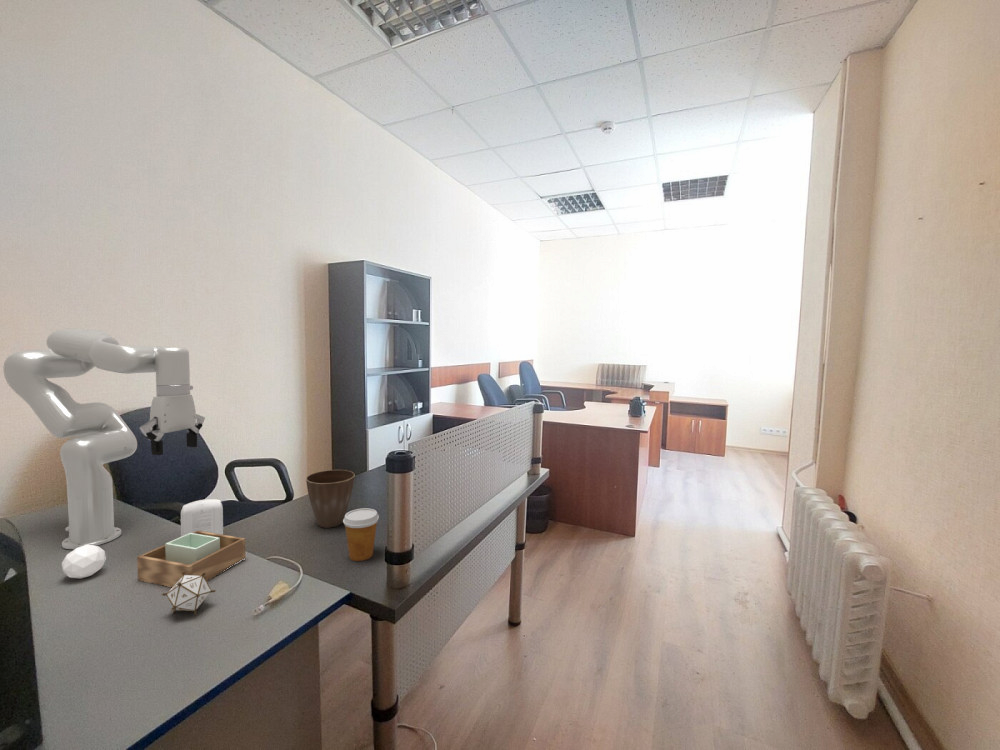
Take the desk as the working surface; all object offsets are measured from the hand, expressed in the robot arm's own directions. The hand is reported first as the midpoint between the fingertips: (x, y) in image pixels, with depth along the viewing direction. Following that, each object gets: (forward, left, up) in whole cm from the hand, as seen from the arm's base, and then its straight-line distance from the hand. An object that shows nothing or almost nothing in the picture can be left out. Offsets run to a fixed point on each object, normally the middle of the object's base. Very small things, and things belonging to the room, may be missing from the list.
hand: (175, 450), depth 118 cm
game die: (+31, -21, -29) cm, 47 cm away
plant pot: (+31, +27, -28) cm, 50 cm away
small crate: (+16, -8, -28) cm, 33 cm away
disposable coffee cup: (+53, +11, -28) cm, 61 cm away
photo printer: (+3, +5, -28) cm, 29 cm away
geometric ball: (-7, -18, -28) cm, 34 cm away
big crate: (+16, -8, -28) cm, 33 cm away
